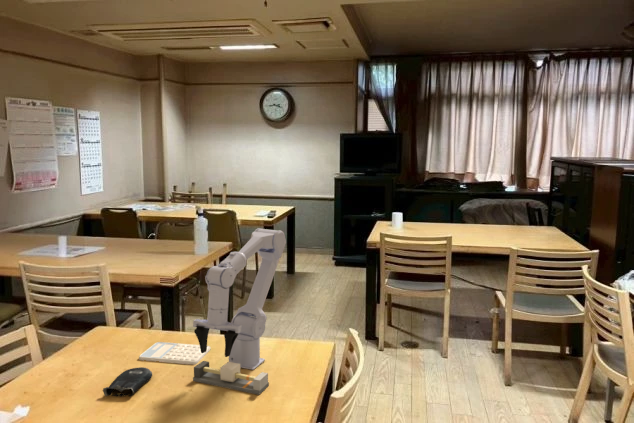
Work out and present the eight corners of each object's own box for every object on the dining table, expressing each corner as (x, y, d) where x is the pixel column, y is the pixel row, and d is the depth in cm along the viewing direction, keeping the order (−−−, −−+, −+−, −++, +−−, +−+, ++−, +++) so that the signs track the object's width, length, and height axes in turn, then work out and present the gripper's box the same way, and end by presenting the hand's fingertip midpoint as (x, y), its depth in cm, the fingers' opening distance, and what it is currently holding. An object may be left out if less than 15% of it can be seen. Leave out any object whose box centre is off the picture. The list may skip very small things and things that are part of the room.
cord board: (193, 380, 151) (192, 367, 151) (204, 372, 157) (204, 360, 156) (258, 394, 143) (258, 381, 142) (268, 385, 148) (268, 372, 148)
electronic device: (137, 403, 141) (157, 372, 156) (132, 386, 140) (153, 356, 154) (105, 406, 142) (128, 375, 157) (100, 388, 141) (124, 359, 155)
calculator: (195, 366, 162) (195, 360, 162) (137, 361, 166) (137, 355, 165) (211, 350, 175) (211, 344, 175) (157, 345, 179) (156, 340, 178)
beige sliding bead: (220, 379, 148) (220, 367, 148) (228, 373, 152) (228, 361, 152) (232, 382, 147) (232, 369, 146) (240, 376, 151) (240, 363, 150)
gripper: (188, 307, 147) (186, 354, 147) (235, 313, 143) (232, 361, 144) (200, 302, 154) (198, 347, 154) (245, 308, 150) (242, 354, 150)
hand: (215, 354), depth 149 cm, fingers open, 7 cm apart
